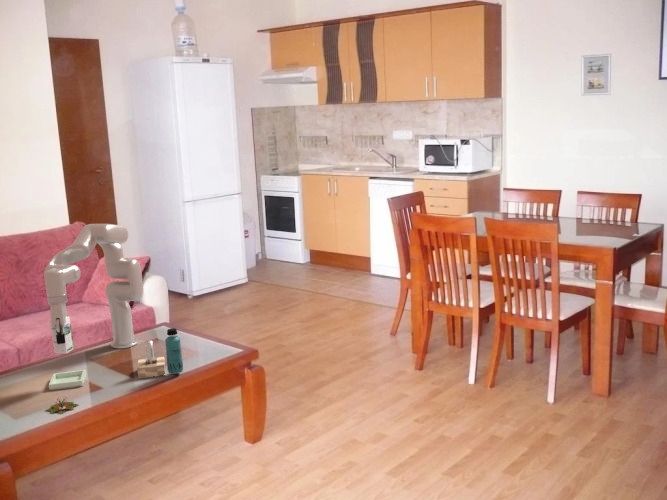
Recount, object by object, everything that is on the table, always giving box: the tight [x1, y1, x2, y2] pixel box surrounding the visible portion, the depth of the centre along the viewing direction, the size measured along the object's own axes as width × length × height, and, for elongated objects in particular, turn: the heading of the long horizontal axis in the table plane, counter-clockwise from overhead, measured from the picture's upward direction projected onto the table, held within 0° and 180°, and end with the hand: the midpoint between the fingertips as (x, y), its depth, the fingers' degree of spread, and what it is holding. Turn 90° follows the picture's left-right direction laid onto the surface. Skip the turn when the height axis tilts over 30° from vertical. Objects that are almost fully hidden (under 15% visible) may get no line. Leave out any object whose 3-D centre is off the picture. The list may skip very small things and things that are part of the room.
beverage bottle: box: [164, 328, 184, 375], centre depth 292 cm, size 6×7×20 cm
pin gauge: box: [144, 339, 155, 365], centre depth 296 cm, size 3×3×14 cm
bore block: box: [136, 356, 166, 379], centre depth 297 cm, size 11×11×4 cm
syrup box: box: [49, 315, 75, 355], centre depth 286 cm, size 6×6×14 cm
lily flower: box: [44, 395, 80, 415], centre depth 265 cm, size 12×12×5 cm
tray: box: [48, 369, 87, 391], centre depth 290 cm, size 13×13×2 cm
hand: (62, 340), depth 287 cm, fingers closed on syrup box, 7 cm apart
